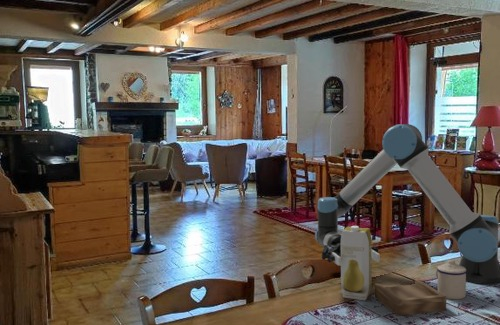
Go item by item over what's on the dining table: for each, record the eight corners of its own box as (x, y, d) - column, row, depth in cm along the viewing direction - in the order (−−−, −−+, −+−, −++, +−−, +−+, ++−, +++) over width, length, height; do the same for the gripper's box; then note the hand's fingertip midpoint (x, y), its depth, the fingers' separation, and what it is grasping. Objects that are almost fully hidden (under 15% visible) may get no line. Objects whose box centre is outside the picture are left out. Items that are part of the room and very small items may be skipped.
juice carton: (339, 298, 163) (338, 226, 161) (345, 290, 170) (345, 222, 168) (368, 302, 159) (367, 229, 157) (373, 294, 166) (372, 223, 164)
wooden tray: (419, 292, 166) (419, 279, 166) (446, 310, 150) (446, 296, 150) (374, 297, 163) (374, 283, 163) (397, 315, 148) (397, 301, 147)
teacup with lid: (472, 298, 160) (473, 262, 159) (448, 301, 158) (449, 265, 157) (448, 286, 172) (448, 253, 171) (425, 289, 169) (425, 256, 168)
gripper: (368, 251, 184) (394, 268, 164) (304, 256, 180) (322, 274, 159) (368, 232, 184) (394, 246, 163) (303, 236, 179) (322, 251, 159)
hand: (359, 260), depth 161 cm, fingers open, 13 cm apart
